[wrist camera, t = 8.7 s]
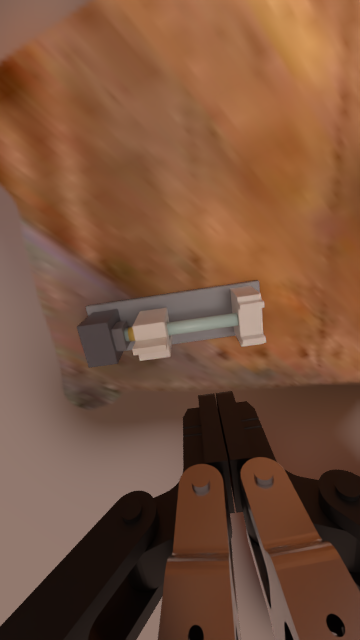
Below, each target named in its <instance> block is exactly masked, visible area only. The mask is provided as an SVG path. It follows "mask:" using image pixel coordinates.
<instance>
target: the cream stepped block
mask: <svg viewBox="0 0 360 640" xmlns="http://www.w3.org/2000/svg"><path fill="white" fill-rule="evenodd" d="M168 322H169V317H168V312H167V307H166V308H160V309H153V310H146V311H140V312H139V314H138V316H137V318H136V320H135V322H134V324H133V326H132V328H133V332H134V337H135V344H134V346H133V349H132V351H133V355H139V359H140V361H143V360H150V359H157V358H165V357H170V356H171V344H172V335H169V334H168V329H167V323H168Z"/></svg>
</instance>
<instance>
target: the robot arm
mask: <svg viewBox="0 0 360 640" xmlns="http://www.w3.org/2000/svg"><path fill="white" fill-rule="evenodd" d="M198 399H199V408H191V409H187V411H186V413H185V416H184V417H183V436H184V437H183V450H184V451H183V452H184V453H183V454H184V455H183V460H184V469H183V474H182V476H181V478H180V481H179V483H178V484H177V485H176V486H175V487H174V488H172V489H171V490H170V491H168V492H166V493H164V494H162V495H159V496H157V497H155V498H153V497H152V496H151V495H150V494H149V493H147V492H144V491H133V492H130V493H128V494H126V495H124V496H123V497H121V498H120V499H119V500H118V501H117V502H116V503H115V505H113V507H112V508H111V509H110V510H109V511H108V512H107V513H106V514H105V515H104V516H103V517H102V518H101V520H99V521H98V523H97V524H96V525H95V526H94V527H93V528H92V529H91V530H90V531H89V532H88V533H87V534H86V536H84V538H83V539H82V540H81V541H80V542H79V543H78V544H77V545H76V546H75V547H74V548H73V549H72V550H71V552H70V553H69V554H68V555H67V556H66V557H65V558H64V559H63V560H62V561H61V562H60V563H59V564H58V565H57V567H55V569H54V570H53V571H52V572H51V573H50V574H49V575H48V576H47V577H46V578H45V579H44V580H43V581H42V583H41V584H40V585H39V586H38V587H37V588H36V589H35V590H34V591H33V592H32V593H31V594H30V595H29V596H28V597H27V599H26V600H25V601H24V602H23V603H22V604H21V605H20V606H19V607H18V608H17V609H16V610H15V612H13V613H12V615H11V616H10V617H9V618H8V619H7V620H6V621H5V622H4V623H3V624H2V625H1V626H0V640H136V639H137V638H138V636H139V634H140V633H141V631H142V629H143V627H144V626H145V624H146V623H147V621H148V619H149V618H150V616H151V614H152V613H153V611H154V609H155V607H156V606H157V604H158V603H159V601H160V599H161V597H162V605H161V615H160V624H159V633H158V640H241V634H240V625H239V616H238V606H237V595H236V584H235V573H234V563H233V552H232V541H231V538H232V526H231V519H230V513H235V512H234V505H233V497H234V502H235V507H236V512H243V513H244V518H245V523H246V529H247V537H248V541H249V545H250V549H251V552H252V556H253V559H254V563H255V566H256V570H257V573H258V577H259V580H260V584H261V587H262V591H263V594H264V598H265V602H266V605H267V608H268V612H269V616H270V620H271V625H272V629H273V634H274V639H275V640H360V477H359V476H357V475H355V474H353V473H351V472H348V471H344V470H330V471H327V472H325V473H324V474H323V475H321V477H320V479H319V480H314V479H309V478H304V477H299V476H296V475H293V474H291V473H289V472H288V471H286V470H285V469H284V468H283V467H282V466H281V465H280V464H279V463H278V462H277V461H276V459H275V457H274V455H273V452H272V450H271V448H270V445H269V443H268V440H267V438H266V435H265V433H264V430H263V428H262V426H261V423H260V421H259V419H258V416H257V413H256V411H255V409H254V408H253V407H252V406H251V405H250V404H249V403H248V402H247V401H245V402H238V403H236V402H235V398H234V396H233V392H232V391H228V392H221V393H216V399H215V395H214V394H206V395H198ZM216 401H217V404H216ZM231 487H232V489H231ZM232 492H233V497H232Z"/></svg>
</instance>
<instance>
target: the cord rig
mask: <svg viewBox="0 0 360 640" xmlns="http://www.w3.org/2000/svg"><path fill="white" fill-rule="evenodd" d="M166 307H167V312H168V317H169V322H168V323H167V329H168V334H169V335H172V344H178V343H185V342H192V341H199V340H207V339H214V338H221V337H228V336H235V335H236V337H237V339H238V341H239V343H240V345H241V347H243V346H250V345H258V344H264V343H266V337H265V335H264V334H263V323H262V308H264V301H263V300H262V299H261V294H260V289H259V281H258V280H255V281H248V282H241V283H235V284H228V285H221V286H215V287H208V288H201V289H195V290H188V291H181V292H175V293H168V294H162V295H155V296H148V297H142V298H135V299H128V300H122V301H115V302H108V303H102V304H95V305H88V306H86V310H87V314H88V317H87V318H86V319H85V320H84V321H83V322H81V323H80V324H79V325H78V326H77V329H78V333H79V336H80V339H81V343H82V346H83V349H84V353H85V356H86V359H87V363H88V366H89V368H90V367H97V366H104V365H111V364H118V362H119V360H120V357H121V355H122V353H123V351H128V350H132V349H133V346H134V344H135V337H134V332H133V328H132V326H133V324H134V322H135V320H136V318H137V316H138V314H139V312H140V311H146V310H153V309H160V308H166Z"/></svg>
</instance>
